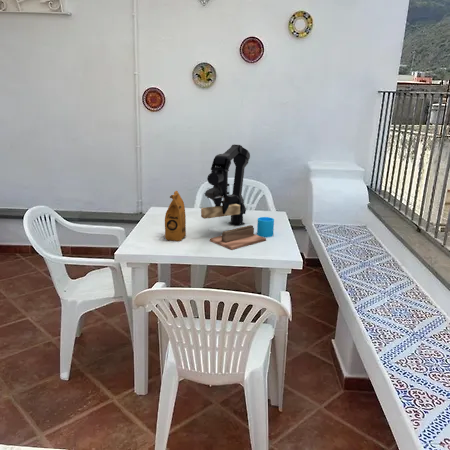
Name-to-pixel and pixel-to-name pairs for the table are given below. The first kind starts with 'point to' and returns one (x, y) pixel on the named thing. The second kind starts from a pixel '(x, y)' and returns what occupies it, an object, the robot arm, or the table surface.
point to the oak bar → (219, 211)
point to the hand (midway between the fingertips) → (221, 212)
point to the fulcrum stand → (238, 238)
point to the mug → (265, 227)
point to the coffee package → (175, 219)
